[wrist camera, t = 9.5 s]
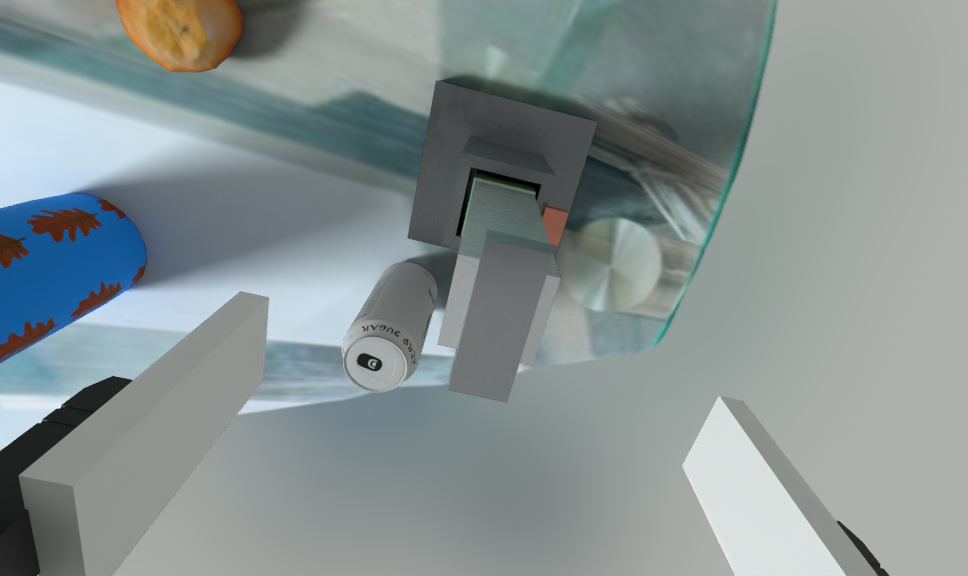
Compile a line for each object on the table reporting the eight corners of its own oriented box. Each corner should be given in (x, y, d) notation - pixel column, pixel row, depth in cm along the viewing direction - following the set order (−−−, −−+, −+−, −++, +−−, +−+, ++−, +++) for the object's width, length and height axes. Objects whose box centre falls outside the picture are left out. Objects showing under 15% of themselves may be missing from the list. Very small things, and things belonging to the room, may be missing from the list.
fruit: (159, -89, 36) (146, -66, 31) (257, -4, 42) (259, 27, 37) (105, -3, 39) (84, 31, 33) (205, 66, 44) (200, 104, 39)
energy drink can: (425, 321, 51) (398, 410, 37) (372, 299, 50) (324, 381, 36) (448, 273, 49) (428, 349, 35) (392, 249, 48) (349, 317, 34)
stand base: (438, 80, 42) (415, 80, 30) (593, 120, 43) (629, 135, 31) (411, 232, 47) (382, 282, 35) (548, 264, 48) (565, 323, 36)
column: (480, 150, 36) (459, 232, 16) (534, 164, 36) (578, 260, 17) (462, 231, 38) (425, 385, 19) (513, 243, 39) (528, 407, 19)
